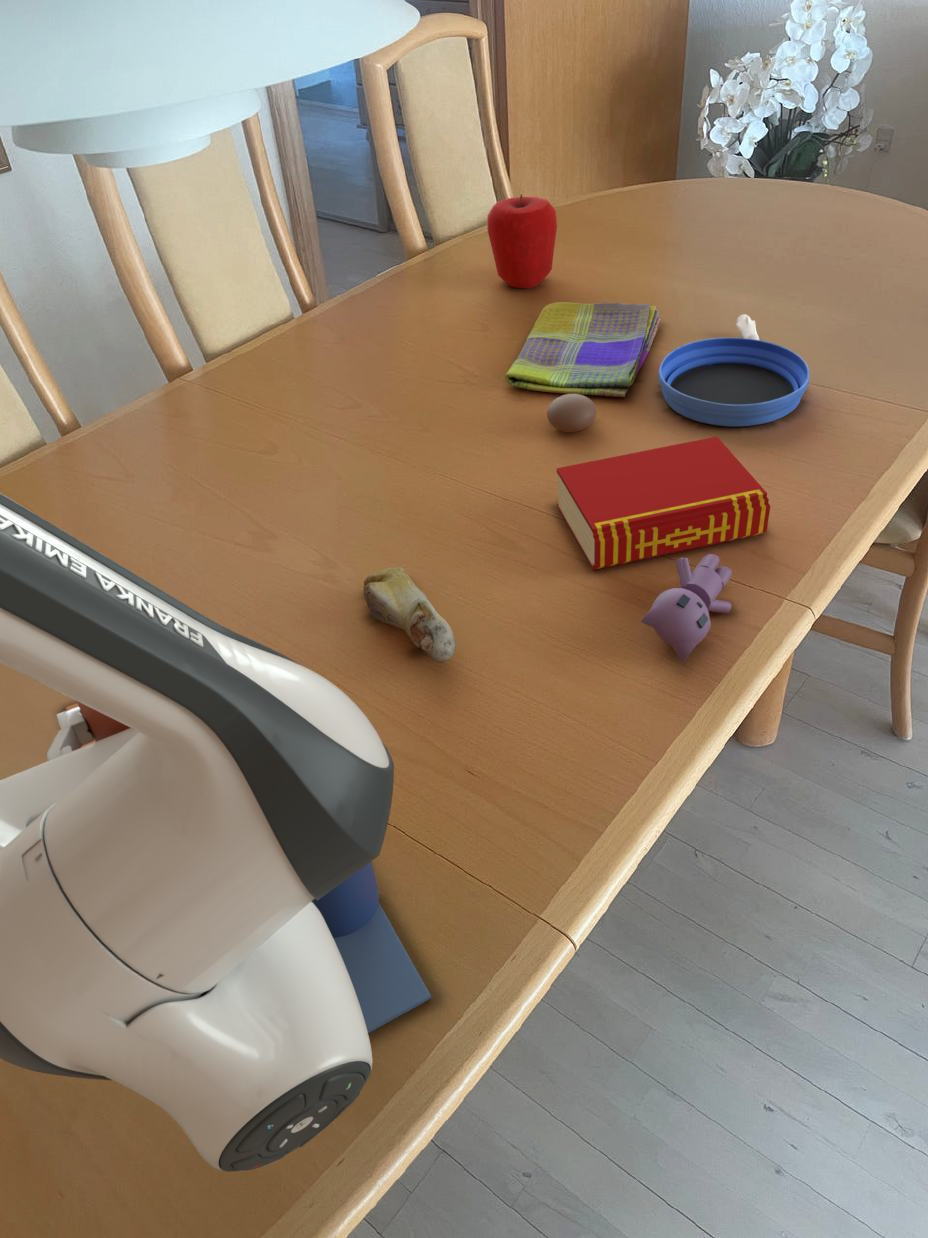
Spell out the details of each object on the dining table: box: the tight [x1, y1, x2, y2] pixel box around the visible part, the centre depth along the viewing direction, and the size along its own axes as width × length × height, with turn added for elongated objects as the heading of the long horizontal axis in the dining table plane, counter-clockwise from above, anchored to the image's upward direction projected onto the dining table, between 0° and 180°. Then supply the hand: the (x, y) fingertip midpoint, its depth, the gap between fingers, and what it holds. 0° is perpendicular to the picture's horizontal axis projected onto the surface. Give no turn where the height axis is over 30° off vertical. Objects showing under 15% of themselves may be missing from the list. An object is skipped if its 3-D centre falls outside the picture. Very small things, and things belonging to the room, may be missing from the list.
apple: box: [486, 193, 558, 289], centre depth 151 cm, size 10×10×14 cm
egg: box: [546, 393, 597, 433], centre depth 119 cm, size 6×6×4 cm
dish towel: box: [504, 301, 662, 398], centre depth 134 cm, size 18×24×3 cm
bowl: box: [658, 337, 810, 428], centre depth 122 cm, size 18×18×4 cm
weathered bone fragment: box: [363, 566, 457, 664], centre depth 92 cm, size 5×5×15 cm
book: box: [556, 436, 771, 571], centre depth 102 cm, size 18×13×5 cm
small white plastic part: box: [735, 313, 760, 340], centre depth 133 cm, size 4×6×3 cm, turn 159°
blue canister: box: [311, 861, 380, 938], centre depth 67 cm, size 6×6×10 cm
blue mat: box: [333, 901, 432, 1034], centre depth 67 cm, size 14×14×1 cm
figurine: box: [640, 553, 733, 665], centre depth 90 cm, size 5×7×12 cm
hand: (130, 694), depth 61 cm, fingers closed on terracotta canister, 6 cm apart
